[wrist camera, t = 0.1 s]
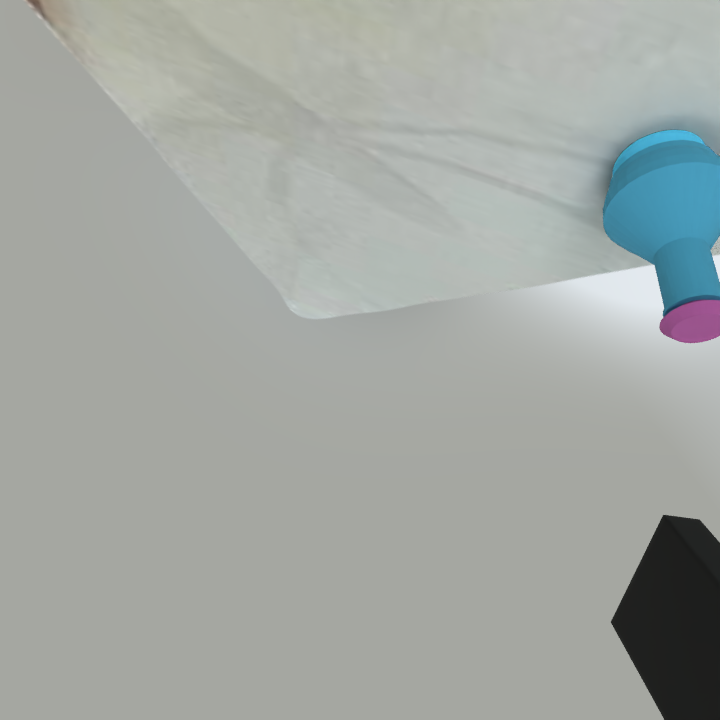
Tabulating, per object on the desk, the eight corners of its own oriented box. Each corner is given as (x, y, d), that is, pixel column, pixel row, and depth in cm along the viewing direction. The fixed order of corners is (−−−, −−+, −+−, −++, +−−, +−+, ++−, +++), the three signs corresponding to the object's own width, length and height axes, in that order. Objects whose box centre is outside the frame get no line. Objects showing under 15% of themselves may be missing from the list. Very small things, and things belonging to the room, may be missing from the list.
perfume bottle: (740, 105, 44) (805, 278, 37) (710, 200, 52) (758, 359, 44) (600, 125, 46) (633, 293, 39) (590, 213, 54) (617, 368, 46)
